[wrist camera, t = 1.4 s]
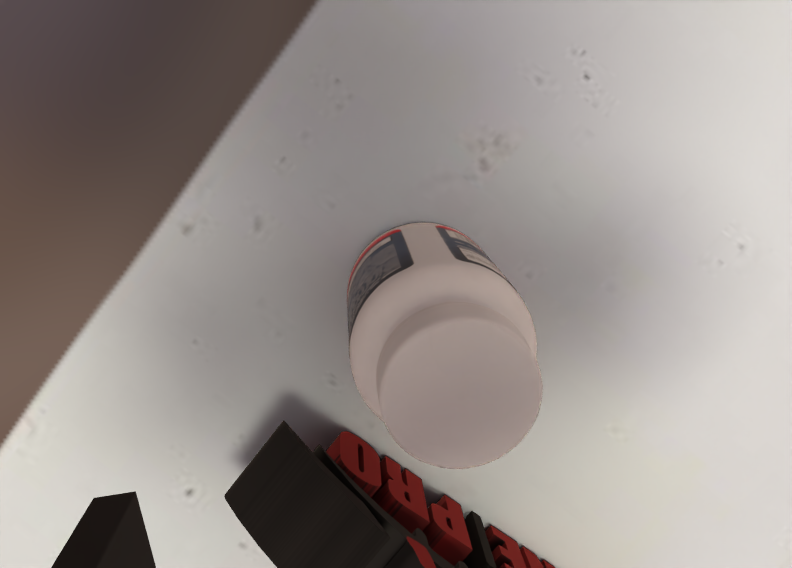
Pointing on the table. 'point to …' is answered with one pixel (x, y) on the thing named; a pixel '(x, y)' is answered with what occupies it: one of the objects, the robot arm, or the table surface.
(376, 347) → the pill bottle
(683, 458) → the table surface
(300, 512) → the logo sign
